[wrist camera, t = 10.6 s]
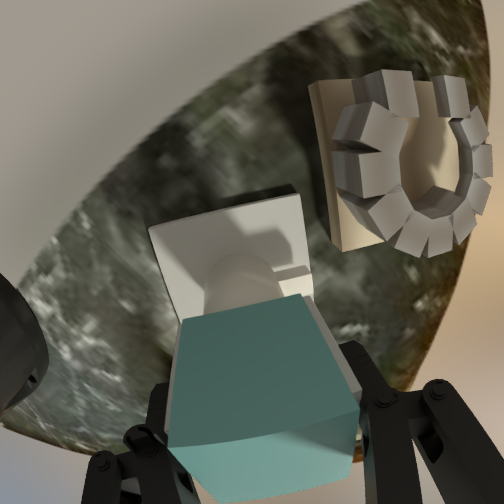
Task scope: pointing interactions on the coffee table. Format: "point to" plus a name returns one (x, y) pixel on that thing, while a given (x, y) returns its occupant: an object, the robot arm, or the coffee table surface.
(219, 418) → the plug
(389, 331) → the coffee table surface
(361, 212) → the socket
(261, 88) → the coffee table surface
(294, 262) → the mat
